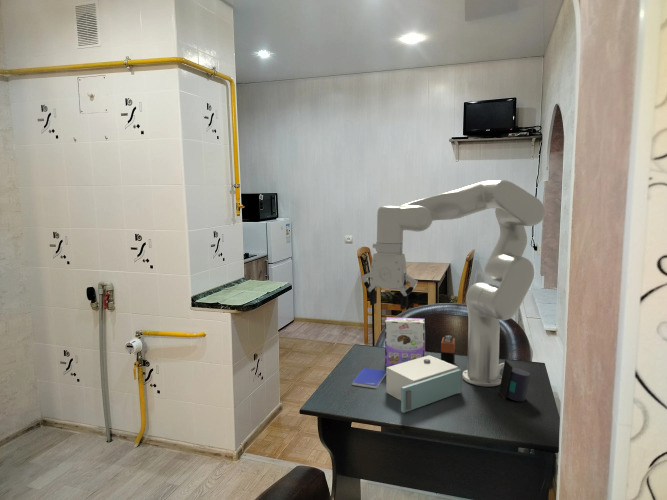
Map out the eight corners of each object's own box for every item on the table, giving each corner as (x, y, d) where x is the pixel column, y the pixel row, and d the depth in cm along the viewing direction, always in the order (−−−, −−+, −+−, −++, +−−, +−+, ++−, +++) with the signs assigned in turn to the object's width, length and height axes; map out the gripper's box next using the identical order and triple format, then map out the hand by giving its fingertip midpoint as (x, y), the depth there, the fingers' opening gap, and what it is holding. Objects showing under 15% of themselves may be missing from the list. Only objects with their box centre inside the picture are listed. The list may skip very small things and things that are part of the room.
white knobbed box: (431, 377, 148) (432, 352, 147) (460, 390, 138) (460, 364, 137) (386, 392, 138) (386, 365, 137) (413, 407, 128) (413, 378, 127)
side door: (459, 390, 137) (460, 368, 136) (464, 392, 136) (464, 370, 135) (401, 411, 125) (401, 387, 124) (405, 413, 123) (405, 389, 122)
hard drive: (376, 385, 141) (386, 370, 152) (351, 381, 144) (363, 367, 155) (376, 390, 141) (386, 375, 152) (351, 386, 144) (363, 372, 155)
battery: (454, 362, 162) (455, 335, 160) (453, 369, 155) (454, 341, 154) (442, 360, 163) (442, 334, 162) (440, 367, 157) (441, 340, 155)
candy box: (424, 362, 161) (425, 318, 159) (424, 369, 156) (424, 322, 154) (386, 360, 165) (386, 316, 163) (384, 366, 159) (384, 320, 157)
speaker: (497, 399, 132) (502, 365, 130) (498, 392, 137) (503, 359, 136) (525, 406, 129) (531, 371, 128) (525, 398, 134) (530, 365, 133)
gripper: (357, 248, 132) (356, 305, 134) (413, 252, 123) (411, 313, 125) (368, 245, 138) (367, 300, 140) (422, 249, 130) (420, 307, 132)
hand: (388, 306), depth 133 cm, fingers open, 9 cm apart
